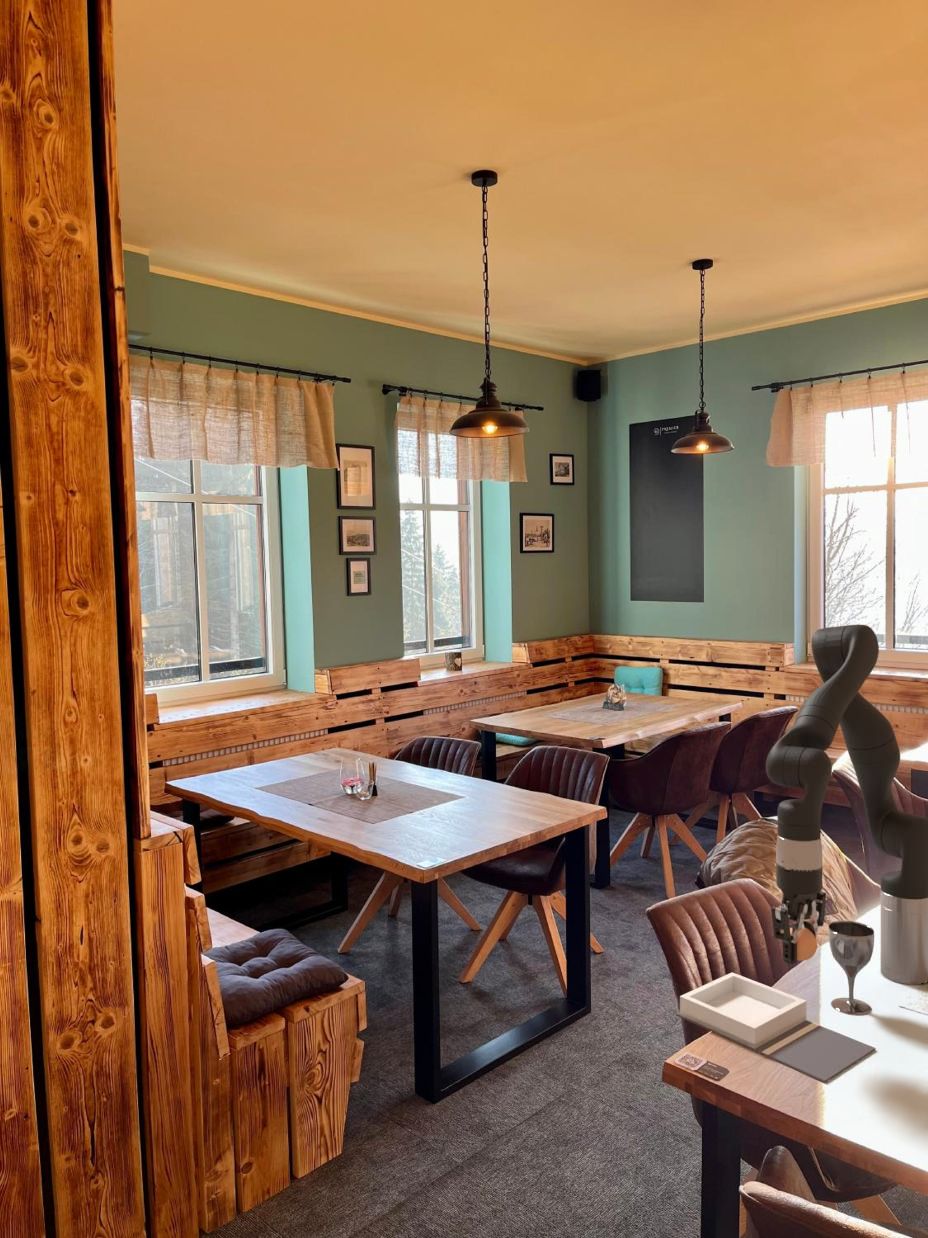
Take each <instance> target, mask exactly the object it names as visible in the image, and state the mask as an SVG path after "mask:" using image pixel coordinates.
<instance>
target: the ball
mask: <svg viewBox="0 0 928 1238" xmlns="http://www.w3.org/2000/svg"><path fill="white" fill-rule="evenodd" d="M790 934H791V935H792V928H791V927H790ZM796 943H797V961H809V960H810V959H811V958H812V957H814V956H815V954H816V953H815V952H817V949H818V941H817V937H816V938H815V936H814V935H813V933H812V932H811V931H809V930H808V929H806V928H804V927H802V929H801V930H800V931H798V936H797V941H796Z"/></svg>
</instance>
